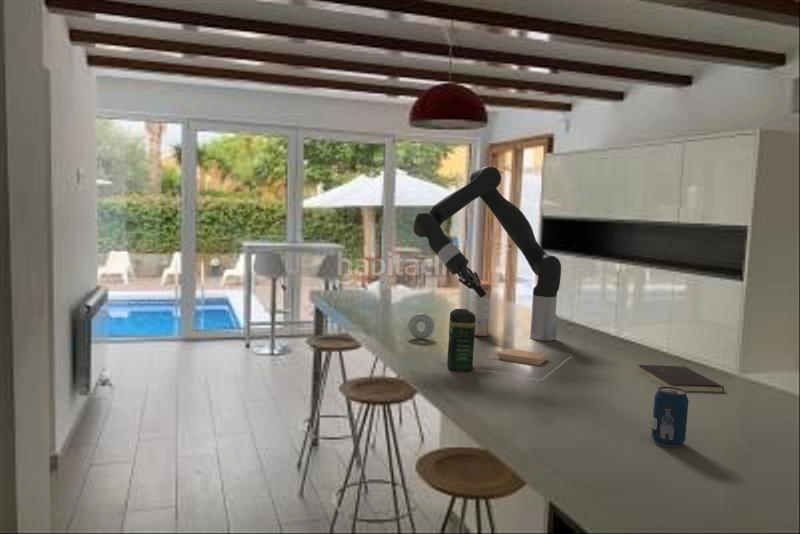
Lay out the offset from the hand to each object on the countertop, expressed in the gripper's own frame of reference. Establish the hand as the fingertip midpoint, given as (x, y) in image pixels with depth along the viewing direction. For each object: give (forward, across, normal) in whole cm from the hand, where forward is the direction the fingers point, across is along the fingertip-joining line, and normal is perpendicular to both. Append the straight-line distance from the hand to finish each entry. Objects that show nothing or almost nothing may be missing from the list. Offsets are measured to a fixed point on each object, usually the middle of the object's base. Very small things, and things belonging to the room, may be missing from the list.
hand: (484, 295), depth 222 cm
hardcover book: (+60, +3, -29) cm, 67 cm away
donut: (-5, +6, +33) cm, 34 cm away
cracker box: (+5, +32, +24) cm, 40 cm away
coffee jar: (+15, -25, +13) cm, 32 cm away
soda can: (+61, -58, -32) cm, 90 cm away
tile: (+19, -4, +7) cm, 21 cm away
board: (+24, -4, +5) cm, 25 cm away
